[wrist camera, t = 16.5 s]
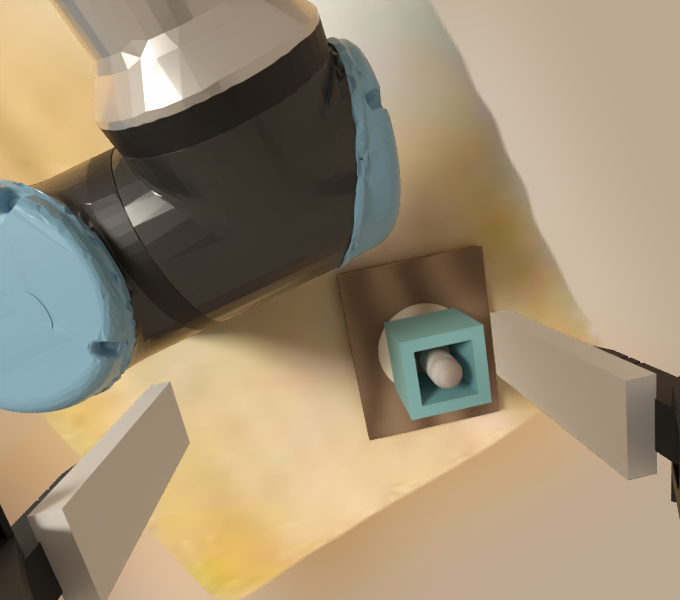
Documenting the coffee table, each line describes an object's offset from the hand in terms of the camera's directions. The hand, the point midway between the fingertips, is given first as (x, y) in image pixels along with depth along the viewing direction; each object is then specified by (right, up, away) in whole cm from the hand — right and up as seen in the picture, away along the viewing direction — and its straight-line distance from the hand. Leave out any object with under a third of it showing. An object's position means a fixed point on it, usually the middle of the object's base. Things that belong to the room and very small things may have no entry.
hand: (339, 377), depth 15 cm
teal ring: (+9, -2, +27) cm, 29 cm away
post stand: (+9, -2, +29) cm, 30 cm away
